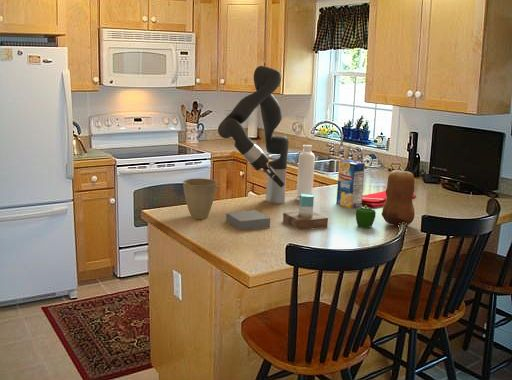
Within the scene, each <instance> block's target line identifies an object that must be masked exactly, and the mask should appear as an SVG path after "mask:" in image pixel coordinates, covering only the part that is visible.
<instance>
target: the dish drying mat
mask: <svg viewBox="0 0 512 380" xmlns="http://www.w3.org/2000/svg"><path fill="white" fill-rule="evenodd" d="M416 197H417V196H416V195H415V193H413V197H412V199H415V198H416ZM386 198H387V195H386V190H382V191H379V192H374V193H368V194H364V195H363V194H362V205H361V207H364V206H365V205H367V208H371V209H372V210H375V209H378V208H383V205H384V203H385V201H386Z"/></svg>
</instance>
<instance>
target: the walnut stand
mask: <svg viewBox="0 0 512 380" xmlns="http://www.w3.org/2000/svg"><path fill="white" fill-rule="evenodd" d="M282 216H283V217H282V222H283V223H286V225H287V224H288V225H289V226H291V227H293V228H295V229H297V230H299V231H303V230H313V229H312V228H314V229H322V228H321V227H323V228H328V225H329V223H328V222H329V218H328V217H327V216H324V215H322V214H320V213H318V212H315V211H313V216H312V217H301V216H300V215H299V210H298V211H289V212H288V211H287V212H283V215H282Z"/></svg>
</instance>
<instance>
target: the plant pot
mask: <svg viewBox="0 0 512 380" xmlns="http://www.w3.org/2000/svg"><path fill="white" fill-rule="evenodd" d="M217 184H218V181H216V180H215V179H210V178H201V177H199V178H195V177H194V178H188V179H184V180H183V181H182V187H183V193H184V198H185V202H186V206H187V209H188V212H189V215H190V217H191V218H192V219H194V220H195V219H197V220H203V219H206V218H208V217H209V215H210V212H211V209H212V207H213V203H214V199H215V196H216V190H217Z"/></svg>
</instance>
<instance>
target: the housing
mask: <svg viewBox="0 0 512 380" xmlns="http://www.w3.org/2000/svg"><path fill="white" fill-rule="evenodd" d="M314 199H315V196H314V195H313V193H312V194H300V200H298V201H299V203H298V205H299V206H298V211H299V215H300V216H301V217H312V216H313V212H314V202H315V201H314Z"/></svg>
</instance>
